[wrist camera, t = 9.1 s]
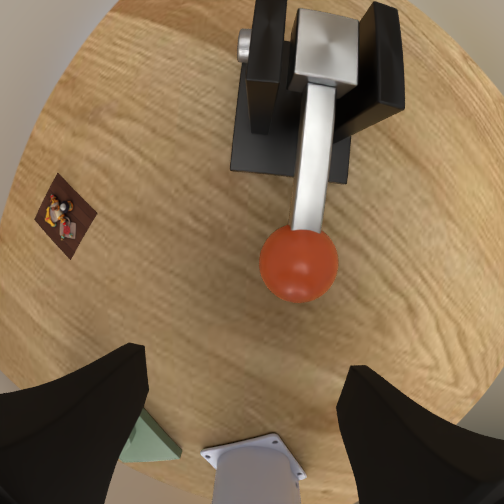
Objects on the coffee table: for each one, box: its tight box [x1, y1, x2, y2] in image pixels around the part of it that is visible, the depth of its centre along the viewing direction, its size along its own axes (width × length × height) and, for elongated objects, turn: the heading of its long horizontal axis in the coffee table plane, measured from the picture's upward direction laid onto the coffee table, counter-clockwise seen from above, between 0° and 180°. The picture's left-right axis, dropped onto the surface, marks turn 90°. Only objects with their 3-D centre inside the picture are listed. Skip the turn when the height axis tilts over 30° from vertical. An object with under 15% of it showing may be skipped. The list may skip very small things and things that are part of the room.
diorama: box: [34, 173, 97, 260], centre depth 17 cm, size 3×4×2 cm
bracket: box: [230, 0, 405, 184], centre depth 11 cm, size 9×7×10 cm
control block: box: [119, 408, 182, 462], centre depth 21 cm, size 10×8×3 cm
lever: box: [259, 8, 359, 303], centre depth 10 cm, size 11×3×3 cm, turn 174°
